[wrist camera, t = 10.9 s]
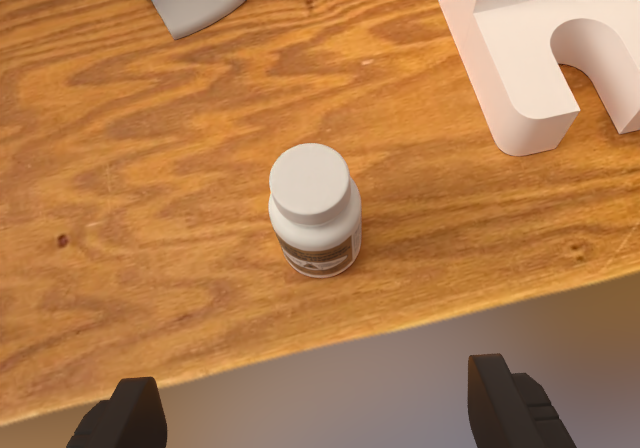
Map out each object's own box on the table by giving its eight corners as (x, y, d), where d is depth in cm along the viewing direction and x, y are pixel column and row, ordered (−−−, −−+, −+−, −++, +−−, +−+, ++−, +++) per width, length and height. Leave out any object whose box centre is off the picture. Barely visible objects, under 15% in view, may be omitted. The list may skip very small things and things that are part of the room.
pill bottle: (277, 276, 29) (250, 221, 22) (288, 203, 31) (266, 129, 23) (357, 283, 28) (356, 229, 21) (364, 208, 30) (366, 135, 23)
